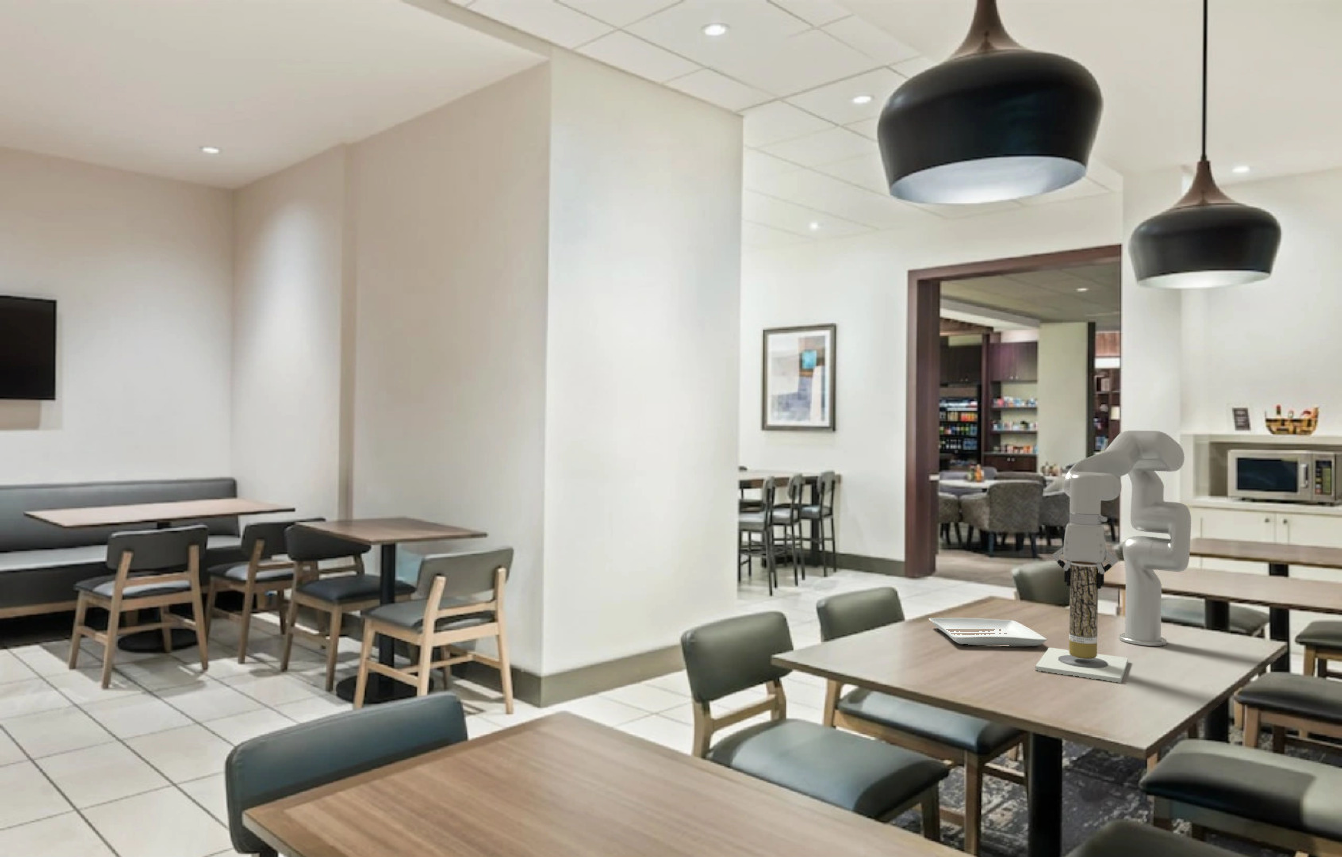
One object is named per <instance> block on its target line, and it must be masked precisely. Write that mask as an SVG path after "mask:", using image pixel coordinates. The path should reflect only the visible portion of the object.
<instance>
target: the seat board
mask: <svg viewBox="0 0 1342 857" xmlns="http://www.w3.org/2000/svg"><path fill="white" fill-rule="evenodd" d="M1128 663H1129V658H1128V657H1125V656H1116V655H1109V654H1101V653H1097V656H1096V657H1095V658H1092V659H1084V658H1077V657H1074V656H1072V655H1070V653H1069V649H1064V648H1056V647H1048V648H1047V650H1046V651H1045V652H1044V654H1043V655H1042V656H1041V657H1040V659H1039V660H1038V662H1037V663H1036V664H1035V666H1034V667H1035V670H1038V671H1037V672H1041V671H1047V672H1046V673H1048V672H1052V673H1051V674H1054V673H1057V674H1056V675H1061V674H1063V675H1062V676H1068V675H1073V676H1072V677H1075V676H1079V677H1078V678H1082V677H1086V678H1085V679H1089V678H1091V680H1096V679H1102V680H1101V681H1103V680H1107V681H1106V682H1109V681H1112V683H1116V682H1118V683H1119V684H1121V683H1122V682H1121V681H1123V679H1122V678H1124V676H1123V675H1125V673H1124V672H1126V670H1125V669H1127V667H1126V666H1128ZM1035 670H1034V671H1035ZM1118 683H1117V684H1118Z"/></svg>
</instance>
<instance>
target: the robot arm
mask: <svg viewBox="0 0 1342 857" xmlns="http://www.w3.org/2000/svg"><path fill="white" fill-rule="evenodd" d="M1184 463H1185V452H1184V450H1183V448H1182V446H1181V445H1180V444H1179V443H1178V441H1176V440H1175V439H1174V438H1172V436H1170V435H1169V434H1167V433H1165V432H1163V431H1160V430H1125V431H1122V432H1120V433H1119V434H1118V435H1117V436H1116V437H1114V439H1113V440H1112V442H1111V443H1109V445H1108V446H1107V448H1106V449H1105V450H1104V451H1102V452H1099V453H1097V454H1096V453H1095V454H1094V455H1092V456H1089V457H1086V458H1084V459H1081V460H1079V461H1077V462H1076V463H1075V464H1073V465H1072V467H1071V468H1070V469H1069V470H1068V471H1067V473H1066V474H1065V477H1064V479H1063V484H1062V486H1063V491H1064V493H1065V495H1066V496H1068V497H1069V523H1066V527H1065V532H1064V538H1063V539H1064V540H1063V546H1062V547H1060V549H1058V550H1056V551H1055V552H1054V553H1053V554H1052V555H1051V557H1052V558H1053V559H1054V560H1055V562H1056V563H1057V564H1058V565H1059V566H1060V568H1061V569H1062V571H1064V576H1063V577H1064V579H1063V580H1064V581H1063V582H1064V583H1066V587H1070V565H1071V562H1081V563H1093V564H1096V566H1097V568H1098V574H1097V588H1098V590H1101V589H1102V586H1103V587H1104V585H1105V574H1106V573H1107V572H1109V570H1110V569H1111V568H1113V567H1114V565H1115V566H1116V564H1117V563H1118V560H1119V559H1118V558H1117V557H1115V555H1114V554H1113V553H1111V552H1110V551H1109V550H1107V542H1106V540H1107V538H1106V531H1105V526H1104V525H1101V524H1102V523H1106V522H1107V516H1103V515H1102V514H1101V511H1102V510H1101V509H1102V507H1101V506H1102V501H1104V502H1105V501H1106V502H1107V501H1113V500H1115V499H1117V498H1118V497H1119V495H1120V494H1121V492H1122V483H1121V479H1119V478H1120V477H1122V476H1126V475H1128V477H1129V479H1130V483H1131V500H1130V501H1131V502H1130V523H1131V526H1132V528H1133V529H1135V530H1136V531H1139V532H1145V533H1155V534H1165V535H1169V537H1170V538H1164V537H1156V536H1144V535H1134V536H1131V537H1128V538H1126V540H1124V542H1123V544H1122V556H1123V561H1124V568H1125V605H1124V606H1125V610H1124V611H1125V612H1124V613H1125V614H1124V615H1125V616H1124V618H1125V619H1124V624H1125V625H1124V632H1122V633H1120V634H1118V639H1119V640H1120V641H1121V642H1122V641H1123V642H1124V643H1128V644H1133V645H1138V646H1148V647H1161V646H1162V645H1163V646H1166V645H1167V641H1168V640H1167V639H1166V638H1164V637H1162V583H1161V580H1160V578H1159V577H1158V575H1157V573H1156V572H1155V570H1156V571H1165V572H1174V573H1175V572H1177V573H1181V572H1184V571H1186V570H1187V568H1188V566H1189V562H1190V556H1191V555H1190V553H1191V551H1190V550H1191V535H1192V534H1191V531H1192V515H1191V511H1190V509H1189V507H1188V506H1187V505H1186V504H1184V503H1181V502H1175V501H1165V500H1164V492H1165V491H1164V489H1165V487H1164V486H1165V485H1164V482H1163V481H1162V479H1161V477H1160V476H1159V475H1158V474H1157V473H1156V472H1166V473H1167V472H1177V471H1179V470H1180V469H1181V468H1182V467H1183V465H1184ZM1062 554H1063V559H1064V560H1065V561H1066V562H1065V561H1064V560H1063V559H1062V558H1061V557H1060V556H1061V555H1062ZM1106 559H1109V560H1110V561H1109V562H1108V563H1107V564H1105V565H1104V564H1103V563H1104V562H1105V561H1106Z"/></svg>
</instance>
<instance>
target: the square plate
mask: <svg viewBox="0 0 1342 857" xmlns="http://www.w3.org/2000/svg"><path fill="white" fill-rule="evenodd" d="M928 620H929V621H930V622H931V623H932V624H933V625H934V626H935V627H936V628H937V629H938V630H940V631H941V632H943V633H944V634H946V635H947V636H948V637H949V638H950V639H952V640H953V641H954V642H956V643H957V644H958V645H963V644H968V645H967V646H969V645H1009V646H1026V647H1035V646H1037V647H1038V646H1040V645H1043V644H1044V643H1045V642H1046V641H1048V639H1047V637H1044V636H1043V635H1041V634H1039V633H1038V632H1037V631H1035V630H1033V629H1031V628H1029V627H1027V626H1025V625H1024V624H1022V623H1020V622H1017V621H1016V620H1011V619H994V618H977V617H929V618H928ZM946 629H995V630H994V631H990V632H988V631H985V632H982V631H979V632H960V631H959V632H956V631H954V632H950V631H948V630H946ZM999 629H1001V631H999ZM951 633H995V634H990V635H989V634H986V635H984V634H982V635H981V634H979V635H976V634H975V635H962V634H960V635H957V634H955V635H954V634H951ZM999 633H1001V634H999ZM1004 633H1007V634H1004Z"/></svg>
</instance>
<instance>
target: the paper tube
mask: <svg viewBox="0 0 1342 857" xmlns="http://www.w3.org/2000/svg"><path fill="white" fill-rule="evenodd" d="M1098 573H1099V570H1098V568H1097V566H1096V564H1093V563H1081V562H1071V565H1070V586H1069V619H1068V620H1069V624H1068V626H1069V627H1068V628H1069V629H1068V630H1069V631H1068V635H1069V636H1068V642H1069V644H1068V650H1069V653H1070V655H1072V656H1074V657H1077V658H1084V659H1092V658H1095V657H1096V656H1097V654H1098V621H1099V620H1098V617H1099V616H1098V614H1099V612H1098V611H1099V608H1098V607H1099V606H1098V605H1099V589H1098V588H1097V574H1098Z"/></svg>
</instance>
